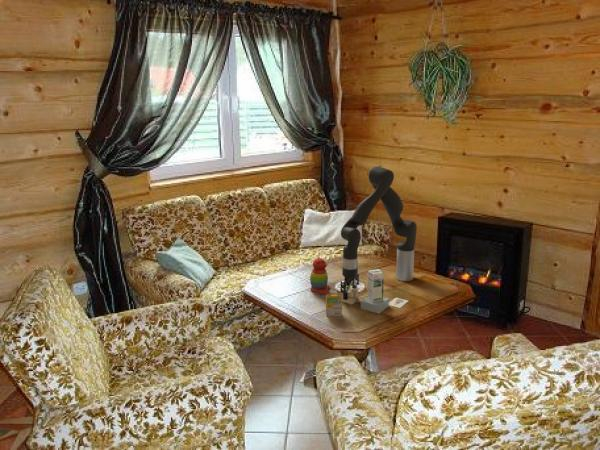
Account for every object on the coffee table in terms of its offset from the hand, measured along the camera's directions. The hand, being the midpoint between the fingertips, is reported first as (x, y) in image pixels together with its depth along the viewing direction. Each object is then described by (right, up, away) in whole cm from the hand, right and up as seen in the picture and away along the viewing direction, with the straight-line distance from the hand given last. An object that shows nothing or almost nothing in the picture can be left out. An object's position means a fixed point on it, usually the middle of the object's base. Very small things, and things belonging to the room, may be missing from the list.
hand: (349, 296), depth 251 cm
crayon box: (-9, -7, -14) cm, 18 cm away
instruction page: (+24, -3, -2) cm, 24 cm away
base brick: (+11, -4, -7) cm, 14 cm away
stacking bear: (-14, +1, +15) cm, 21 cm away
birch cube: (0, -2, +1) cm, 2 cm away
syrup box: (+12, 0, -8) cm, 14 cm away
